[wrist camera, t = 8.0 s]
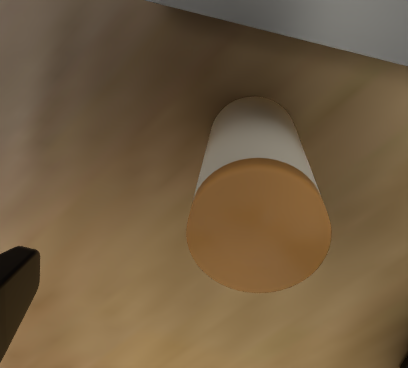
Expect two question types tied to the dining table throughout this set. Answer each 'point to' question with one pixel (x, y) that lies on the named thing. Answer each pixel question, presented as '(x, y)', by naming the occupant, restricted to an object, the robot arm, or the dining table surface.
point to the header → (319, 22)
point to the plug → (257, 202)
